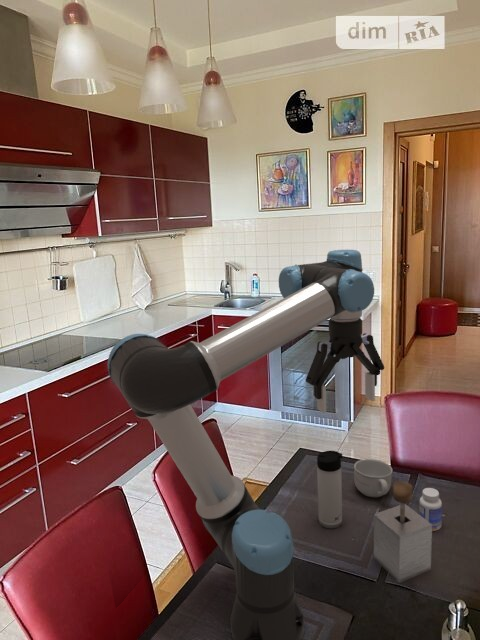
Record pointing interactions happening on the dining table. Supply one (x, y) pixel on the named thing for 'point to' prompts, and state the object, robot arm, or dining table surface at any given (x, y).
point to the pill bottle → (431, 507)
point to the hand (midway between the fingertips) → (346, 405)
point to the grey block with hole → (402, 543)
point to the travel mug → (329, 489)
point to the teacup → (372, 477)
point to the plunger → (402, 496)
